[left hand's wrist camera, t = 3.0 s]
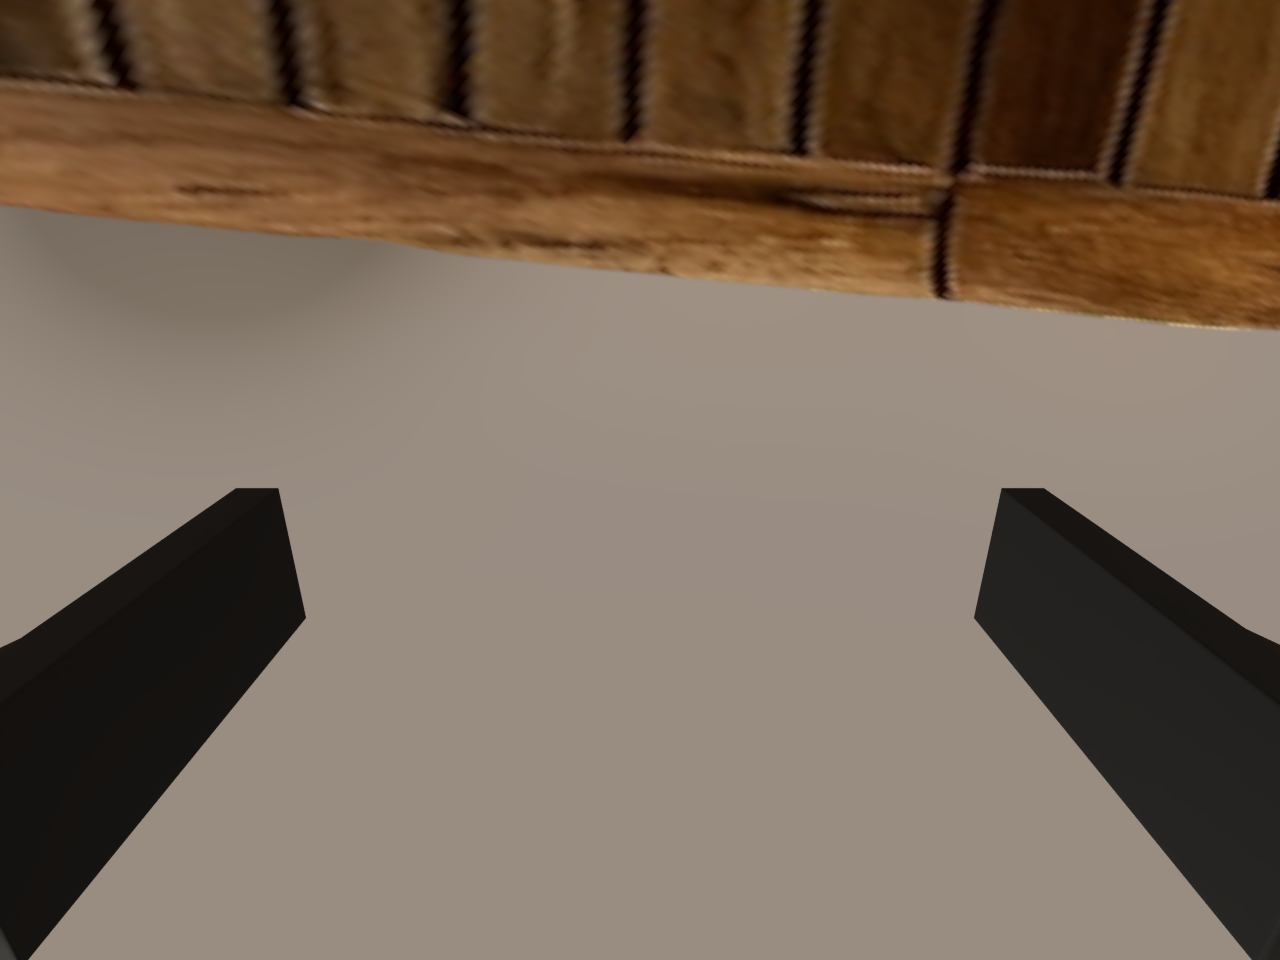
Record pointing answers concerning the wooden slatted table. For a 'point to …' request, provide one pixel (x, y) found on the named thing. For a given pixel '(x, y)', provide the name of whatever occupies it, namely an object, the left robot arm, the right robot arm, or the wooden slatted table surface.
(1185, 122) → the wooden slatted table surface
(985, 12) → the wooden slatted table surface
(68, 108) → the wooden slatted table surface
